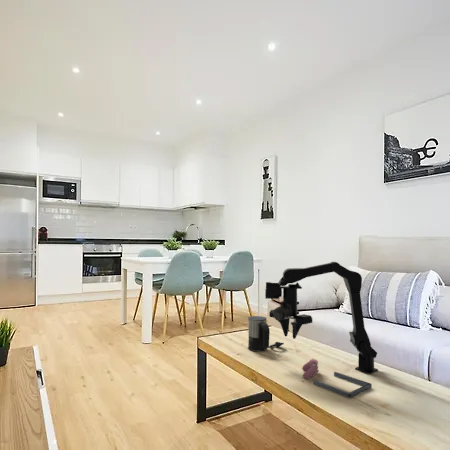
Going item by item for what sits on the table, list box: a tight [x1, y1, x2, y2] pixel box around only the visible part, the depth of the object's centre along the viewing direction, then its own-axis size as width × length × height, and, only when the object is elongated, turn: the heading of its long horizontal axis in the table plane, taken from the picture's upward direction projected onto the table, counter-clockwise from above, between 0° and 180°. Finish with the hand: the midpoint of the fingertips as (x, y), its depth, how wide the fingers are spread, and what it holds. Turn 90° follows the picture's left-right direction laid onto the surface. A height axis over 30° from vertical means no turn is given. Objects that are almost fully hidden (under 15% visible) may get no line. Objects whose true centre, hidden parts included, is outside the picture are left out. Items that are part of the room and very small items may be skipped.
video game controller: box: [301, 358, 319, 380], centre depth 135 cm, size 10×5×7 cm, turn 169°
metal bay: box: [312, 371, 373, 399], centre depth 124 cm, size 14×15×2 cm
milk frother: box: [247, 315, 284, 352], centre depth 168 cm, size 14×16×15 cm
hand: (290, 337), depth 143 cm, fingers open, 4 cm apart
